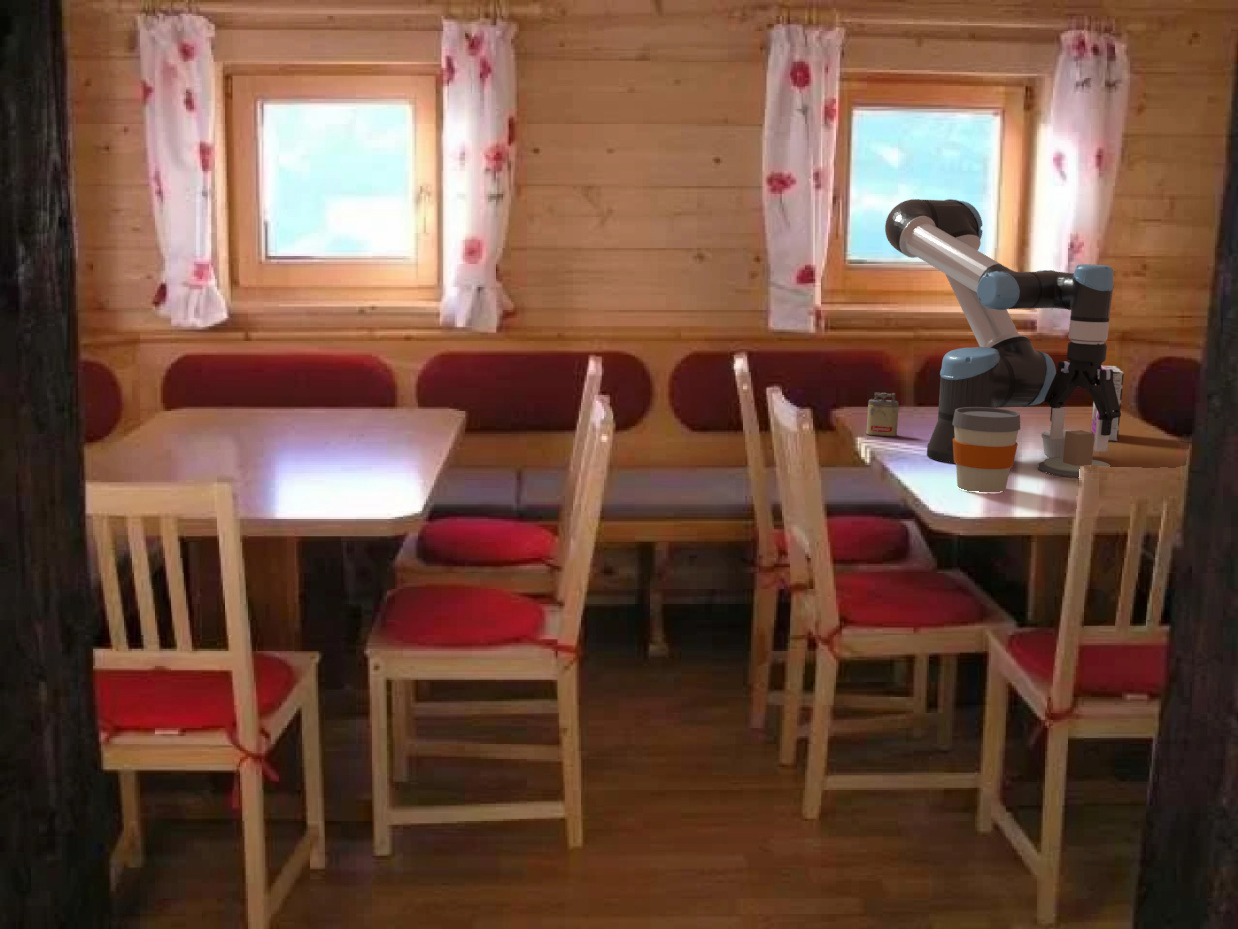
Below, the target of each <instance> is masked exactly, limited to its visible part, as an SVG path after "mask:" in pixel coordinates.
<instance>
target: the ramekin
mask: <svg viewBox="0 0 1238 929" xmlns="http://www.w3.org/2000/svg"><path fill="white" fill-rule="evenodd" d="M1050 430H1051V429H1050ZM1050 430H1044V431H1042V432H1041V438H1042V443H1043V444H1042V447H1043V454H1044V456H1047V458H1048V457H1049V458H1056V457H1063V456H1064V444H1065V433H1066V431H1074V430H1072V429H1071V430H1070V429H1063V439H1050ZM1095 436H1096V435H1094V445H1093V448H1094V446H1095Z"/></svg>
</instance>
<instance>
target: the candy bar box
mask: <svg viewBox="0 0 1238 929" xmlns="http://www.w3.org/2000/svg"><path fill="white" fill-rule="evenodd" d="M1101 367H1102V370H1103V369H1112V370H1113V382H1114V386H1115V390H1116V395H1117V399H1118V403H1119V407H1120V411H1121V408H1122V407H1121V406H1122V399H1123V398H1122V397H1123V388H1124V387H1123V385H1124V376H1125V375H1124V374H1125V373H1124V371H1122V370H1121V369H1120V368H1119V367H1118V366H1116V365H1102V364H1101ZM1095 385H1096V384H1095ZM1113 412H1114V411H1113ZM1105 413H1106V412H1105ZM1091 416H1092V417H1091V429H1090V433H1094V435H1096V426H1097V419H1098V418H1099V417H1100V415H1099V413H1098V410H1097V408H1096V406H1095V404H1094V402H1093V403H1092V415H1091ZM1120 420H1121V416H1120V417H1118V418H1114V419H1113V420H1112V426H1111V434H1110V435H1109V439H1108V442H1119V434H1120V433H1119V432H1120V430H1119V429H1120Z"/></svg>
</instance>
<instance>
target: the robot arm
mask: <svg viewBox="0 0 1238 929" xmlns="http://www.w3.org/2000/svg"><path fill="white" fill-rule="evenodd" d="M884 226H885V227H884V230H885V237H886V239H887V241H888V242H889V244H890V245H891V246H892V247H893V249H895V250H896V251H898V252H899V253H900V254H903V255H905V257H908V258H912V259H913V258H919V259H920V260H921V261H923V262H925V263H927V264H928V265H930V266H932V267H934V268H935V269H937V270H938V271H940V272H941V273H943V274H945V276H946V278H947V281H948V282H949V285H950V287H951V289H952V291H953V293H954V296H955V297H956V300H957V302H958V304H959V305H960V308H961V311H962V312H963V315H964V316H965V318H966V320H967V323H968V324H969V325H968V326H970V327H969V328H970V329H971V331H972V333H973V335H974V337H975V339H976V342H977V343H978V346H976V347H975V346H974V347H970V346H969V347H962V348H961V347H960V348H956V349H952V350H950V351H948V352H946V353H945V354H944V356H943V358H942V362H941V369H940V372H939V375H940V382H939V399H938V412H937V421H936V424H935V426H934V429H933V432H932V434H931V437H930V440H929V442H928V444H927V450H926V456H927V457H928V458H930V459H932V460H935V461H938V462H939V461H940V462H944V463H951V464H956V463H955V462H954V455H953V438H955V433H954V426H953V425H952V423H953V418H954V413H955V409H958V408H964V407H987V408H999V409H1003V408H1013V407H1014V408H1015V407H1023V408H1026V407H1030V406H1035V405H1040V404H1041V403H1043V402H1044V403H1046V404H1048V405H1049V407H1050V418H1049V420H1050V439H1063V430H1064V427H1065V416H1066V414H1065V413H1066V407H1065V406H1066V405H1065V403H1066V402H1067V400H1068V399H1070V397H1071V395H1072V394H1073V393H1074V391H1075V390H1076V389H1077V388H1079V387H1080V388H1082V389H1085V390H1086V392H1089V394H1090V396H1091V397H1090V398H1091V399H1092V401H1093V403H1094V404H1095V406H1096V408H1097V410H1098V413H1099V415H1100V417H1099V418H1098V419H1097V426H1096V436H1095V443H1094V447H1093V452H1108V448H1109V441H1108V439H1109V435H1110V434H1111V426H1112V420H1113V419H1114V418H1118V417H1120V418H1121V416H1122V412H1121V410H1120V407H1119V403H1118V399H1117V395H1116V390H1115V386H1114V382H1113V370H1112V369H1103V370H1102V367H1101V365H1102V364H1103V363H1104V362H1105V361H1106V358H1107V350H1108V349H1107V348H1108V346H1107V344H1106V343H1105V342H1107V341H1108V338H1109V336H1108V335H1109V329H1110V328H1109V326H1110V316H1111V307H1112V297H1113V291H1114V269H1113V267H1112V266H1110V265H1108V264H1107V265H1105V264H1091V263H1090V264H1087V263H1086V264H1084V263H1083V264H1082V263H1081V264H1078V265H1077V264H1076V266H1075V268H1074V273H1073V272H1064V271H1056V270H1054V269H1053V270H1051V269H1049V270H1046V269H1045V270H1037V271H1016V270H1015V271H1014V270H1012V269H1011V268H1009V267H1007V266H1005V265H1003V264H1002V263H1000V262H998V261H996V260H995V259H993V258H991V257H990V256H988V255H986V254H984V253H982V252H981V251H979V249H980V247H981V244H982V243H981V242H982V241H981V240H982V236H983V229H981V228H982V227H983V220H982V217H981V215H980V213H979V211H978V210H977V208H976V207H975V206H974V205H973V204H971V203H969V202H967V201H964V200H958V199H952V198H950V199H945V200H943V199H919V198H916V199H914V198H913V199H907V200H904V201H902V202H900V203H898V204H897V205H895V206H894V207H893V208H892V209H891V210H890V212H889V214H888V215H887V217H886V220H885V224H884ZM1024 309H1029V310H1030V309H1057V310H1058V309H1059V310H1060V309H1061V310H1068V311H1070V317H1069V318H1070V319H1069V326H1068V327H1069V329H1068V336H1067V337H1068V339H1069V340H1070V341H1069V342H1068V343H1067V352H1066V359H1067V360H1068V361H1058V362H1057V363H1058V364H1057V367H1056V365H1055V363H1054V361H1053V358H1052V357H1051V356H1050V355H1049V354H1048V353H1046V352H1043V351H1041V350H1037V351H1036V350H1035V347H1034V346H1033V344H1032V342H1031V340H1030V338H1029V337H1028V336H1026V335H1024V334H1020V333H1019V332H1018V330H1017V327H1016V325H1015V323H1014V321H1013V320H1012V318H1011V316H1010V313H1009V312H1008V310H1024ZM1056 368H1057V369H1056ZM1095 384H1096V385H1095ZM1113 411H1114V412H1113ZM1105 412H1106V413H1105Z"/></svg>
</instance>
